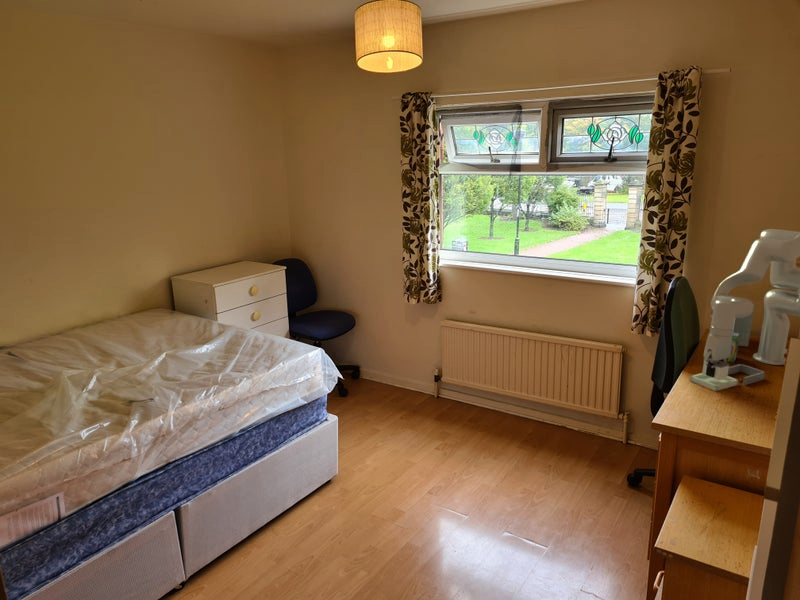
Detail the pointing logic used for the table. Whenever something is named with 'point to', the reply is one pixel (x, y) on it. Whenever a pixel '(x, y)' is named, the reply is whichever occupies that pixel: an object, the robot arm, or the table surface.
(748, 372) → the bay
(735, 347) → the chalk box
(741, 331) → the hard drive box
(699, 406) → the table surface
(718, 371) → the grey box with knob
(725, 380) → the dock tray
